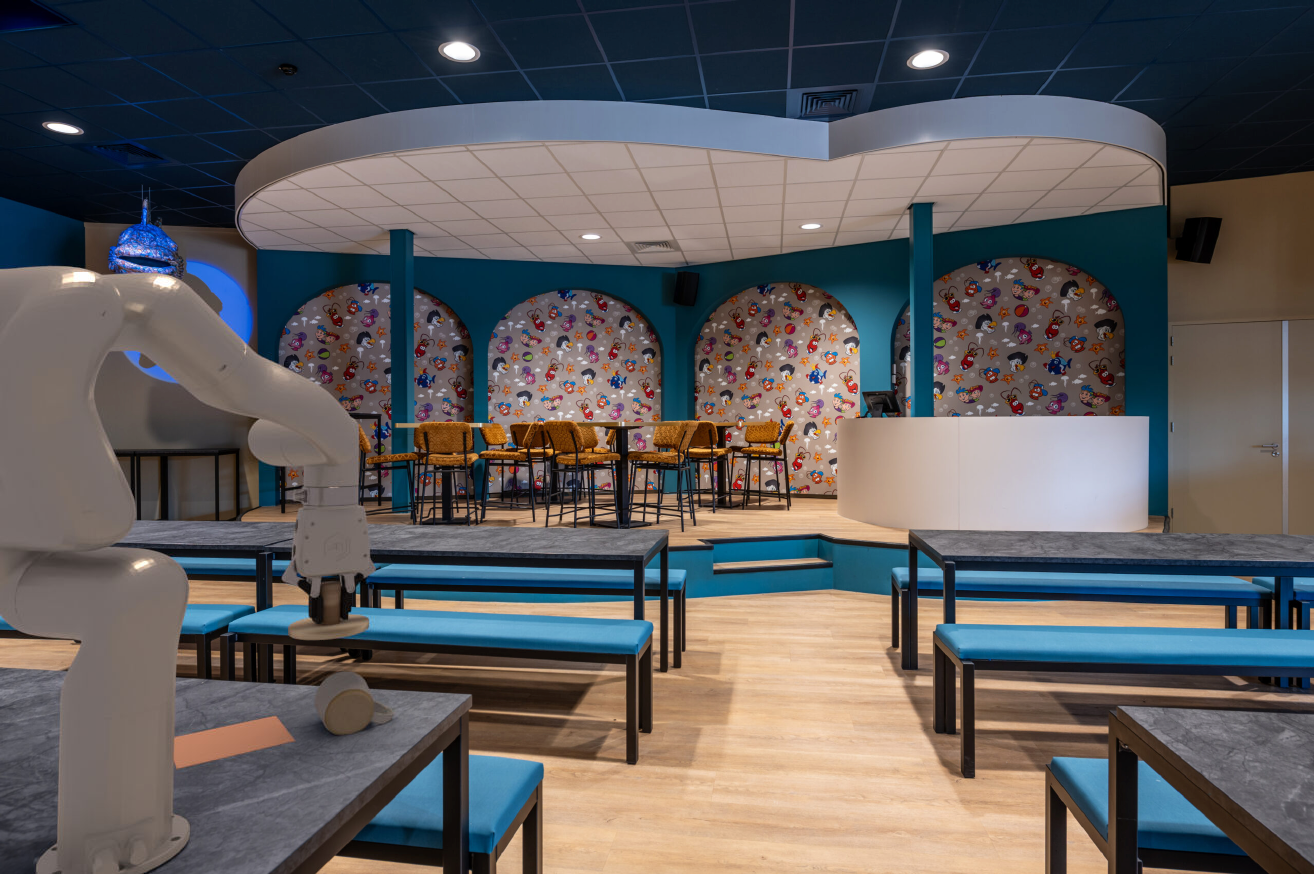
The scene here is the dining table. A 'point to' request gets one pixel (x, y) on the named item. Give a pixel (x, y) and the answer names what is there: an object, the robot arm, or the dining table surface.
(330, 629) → the lid
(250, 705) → the dining table surface
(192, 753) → the mat
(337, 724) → the ceramic mug
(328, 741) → the dining table surface
